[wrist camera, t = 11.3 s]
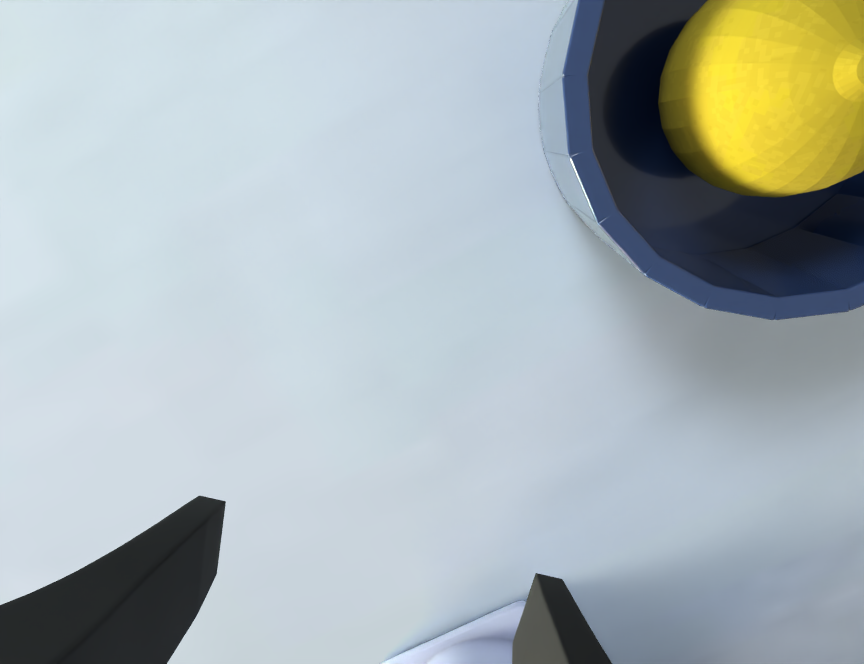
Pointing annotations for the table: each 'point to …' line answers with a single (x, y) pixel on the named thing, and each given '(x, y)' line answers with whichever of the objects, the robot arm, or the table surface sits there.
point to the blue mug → (682, 178)
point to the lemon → (768, 95)
